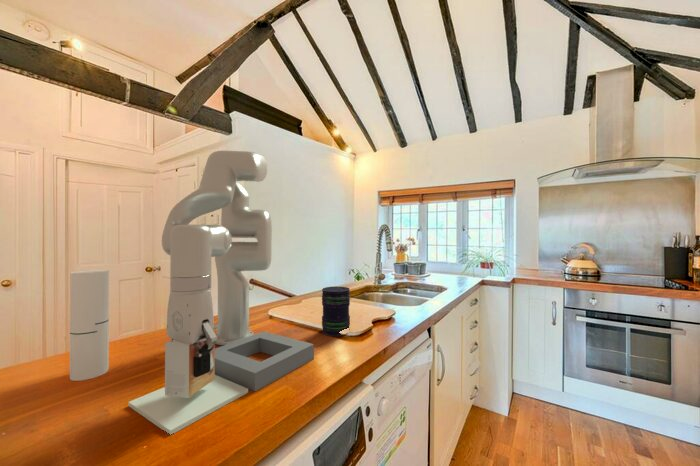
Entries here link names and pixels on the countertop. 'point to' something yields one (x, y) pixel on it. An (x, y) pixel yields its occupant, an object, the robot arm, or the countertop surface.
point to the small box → (184, 369)
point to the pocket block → (259, 374)
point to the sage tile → (186, 404)
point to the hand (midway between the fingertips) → (191, 368)
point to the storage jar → (335, 310)
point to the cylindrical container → (89, 324)
